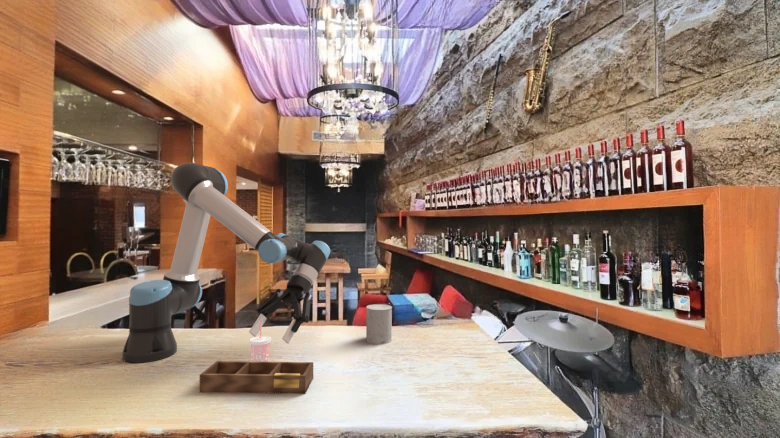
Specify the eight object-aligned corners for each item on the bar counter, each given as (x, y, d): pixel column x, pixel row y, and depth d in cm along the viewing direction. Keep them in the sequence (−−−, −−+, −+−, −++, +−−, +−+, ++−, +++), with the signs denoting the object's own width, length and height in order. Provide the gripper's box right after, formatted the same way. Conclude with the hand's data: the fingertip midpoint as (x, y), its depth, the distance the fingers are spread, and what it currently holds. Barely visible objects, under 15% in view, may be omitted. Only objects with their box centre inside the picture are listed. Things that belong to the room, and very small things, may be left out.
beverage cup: (275, 367, 115) (275, 321, 115) (258, 374, 110) (259, 325, 110) (261, 363, 118) (262, 318, 118) (244, 370, 113) (245, 322, 113)
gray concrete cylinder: (388, 345, 137) (389, 310, 137) (363, 343, 139) (363, 309, 139) (394, 337, 146) (394, 304, 146) (369, 335, 148) (369, 303, 148)
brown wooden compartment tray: (198, 392, 98) (199, 374, 98) (216, 377, 108) (217, 360, 108) (305, 394, 98) (305, 375, 98) (313, 378, 108) (313, 361, 108)
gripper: (337, 290, 125) (306, 350, 112) (280, 284, 137) (246, 337, 124) (327, 276, 120) (293, 337, 107) (269, 271, 132) (232, 325, 119)
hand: (268, 337), depth 115 cm, fingers open, 13 cm apart
